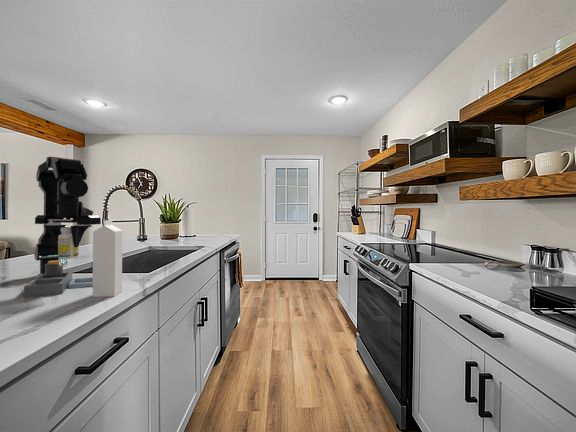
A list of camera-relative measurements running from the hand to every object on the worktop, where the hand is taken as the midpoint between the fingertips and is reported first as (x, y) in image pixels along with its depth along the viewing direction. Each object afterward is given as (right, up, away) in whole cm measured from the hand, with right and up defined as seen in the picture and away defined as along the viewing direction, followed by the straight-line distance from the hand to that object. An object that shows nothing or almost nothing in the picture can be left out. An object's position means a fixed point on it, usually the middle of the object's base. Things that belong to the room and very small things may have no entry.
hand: (68, 246), depth 102 cm
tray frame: (+3, -13, +6) cm, 15 cm away
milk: (+17, -14, -7) cm, 23 cm away
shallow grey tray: (-5, -13, 0) cm, 14 cm away
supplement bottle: (0, -4, 0) cm, 4 cm away
